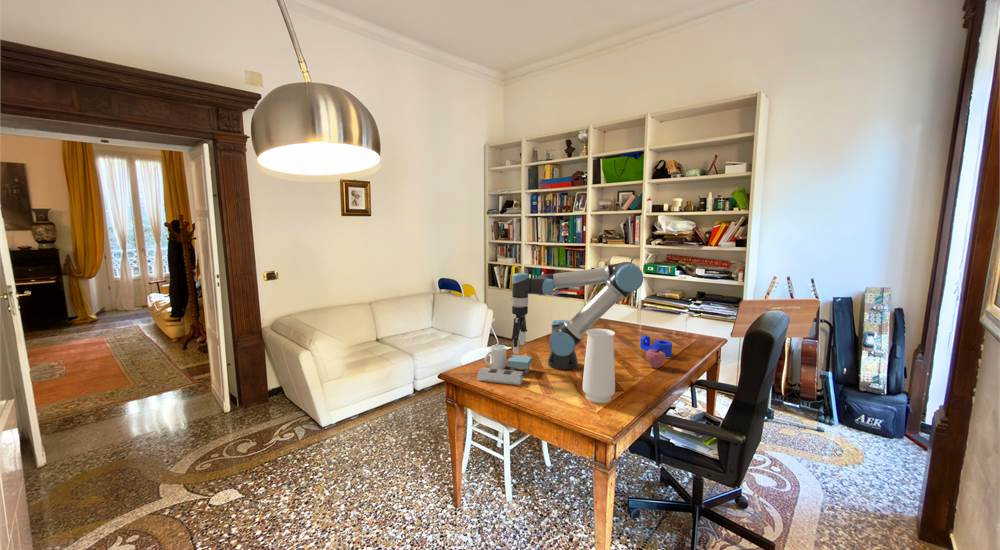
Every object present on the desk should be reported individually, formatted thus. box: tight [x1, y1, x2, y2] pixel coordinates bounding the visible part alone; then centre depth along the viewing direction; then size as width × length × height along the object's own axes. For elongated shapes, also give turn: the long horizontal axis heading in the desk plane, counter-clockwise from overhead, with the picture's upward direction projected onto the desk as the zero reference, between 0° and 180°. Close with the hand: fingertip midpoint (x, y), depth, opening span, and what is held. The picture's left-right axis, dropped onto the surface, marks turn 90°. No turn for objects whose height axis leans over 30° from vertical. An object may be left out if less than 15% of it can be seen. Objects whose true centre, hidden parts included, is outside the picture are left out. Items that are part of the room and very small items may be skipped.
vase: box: [582, 327, 616, 404], centre depth 163 cm, size 13×13×28 cm
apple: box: [645, 349, 667, 369], centre depth 199 cm, size 10×9×10 cm
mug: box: [484, 344, 507, 370], centre depth 199 cm, size 12×8×10 cm
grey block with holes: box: [477, 366, 524, 386], centre depth 183 cm, size 20×6×4 cm, turn 74°
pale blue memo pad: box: [506, 354, 533, 374], centre depth 194 cm, size 10×9×6 cm
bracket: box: [639, 334, 673, 358], centre depth 221 cm, size 20×9×8 cm, turn 20°
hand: (519, 348), depth 193 cm, fingers open, 13 cm apart
